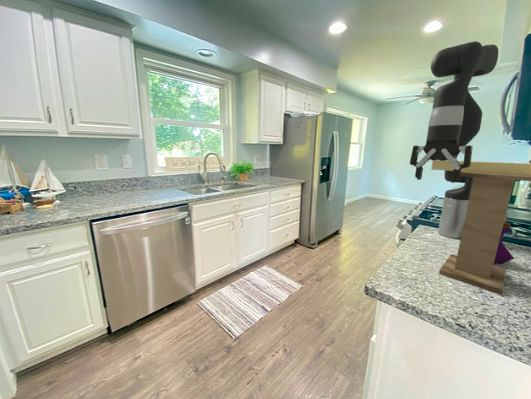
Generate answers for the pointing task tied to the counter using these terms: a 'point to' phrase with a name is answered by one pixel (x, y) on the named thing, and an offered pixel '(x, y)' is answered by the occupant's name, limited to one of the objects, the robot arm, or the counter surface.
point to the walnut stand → (482, 231)
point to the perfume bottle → (502, 252)
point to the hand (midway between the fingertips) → (435, 180)
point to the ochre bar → (487, 167)
